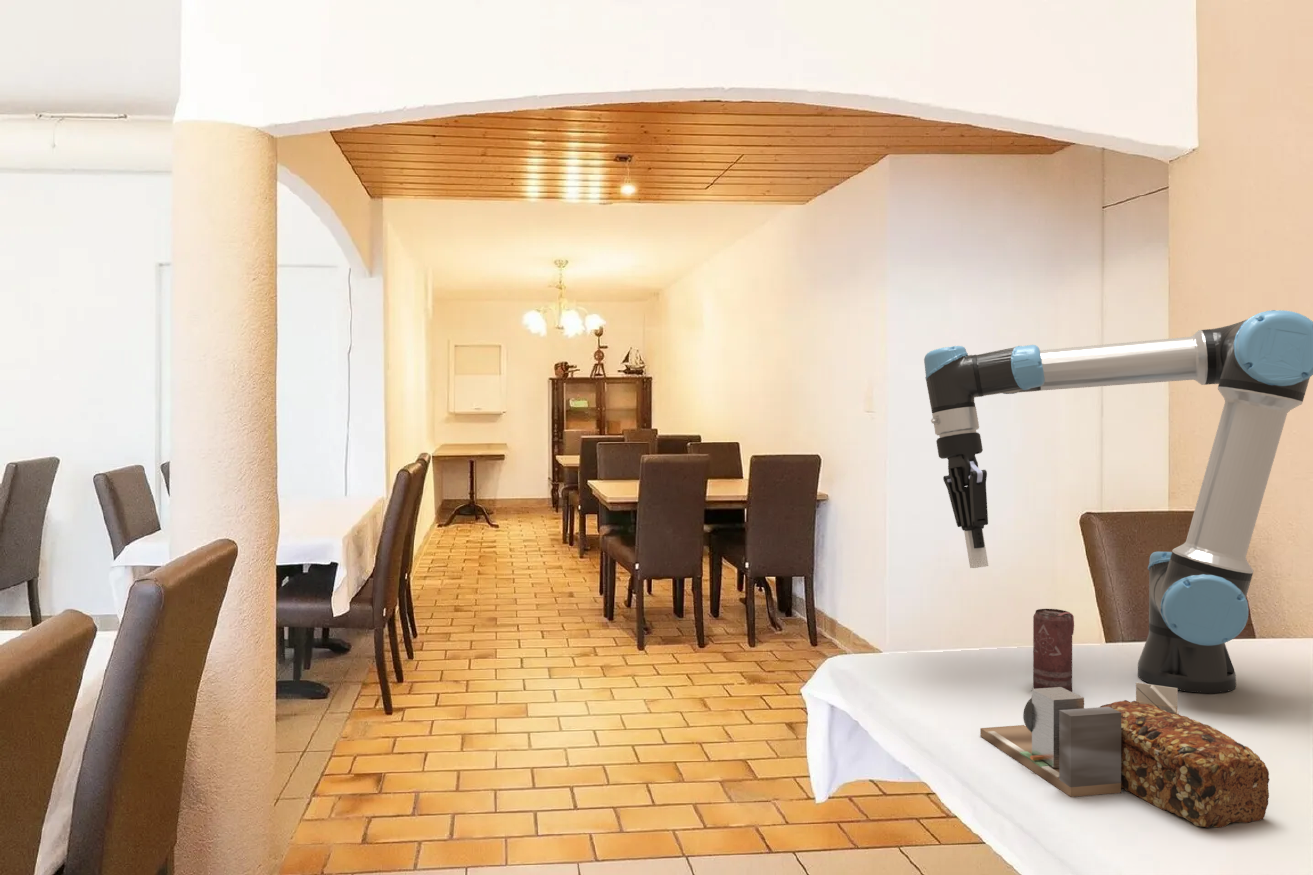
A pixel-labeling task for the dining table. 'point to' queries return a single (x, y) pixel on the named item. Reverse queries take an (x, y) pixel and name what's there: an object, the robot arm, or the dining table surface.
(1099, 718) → the gauge body
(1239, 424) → the robot arm
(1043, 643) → the can
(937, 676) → the dining table surface
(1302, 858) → the dining table surface
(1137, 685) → the architectural model
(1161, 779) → the bread
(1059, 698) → the brushed steel block
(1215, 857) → the dining table surface
